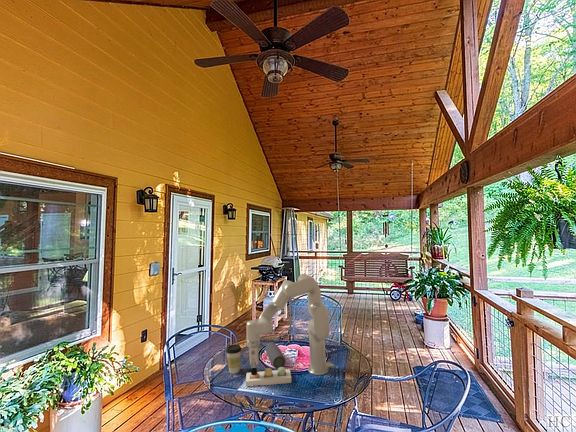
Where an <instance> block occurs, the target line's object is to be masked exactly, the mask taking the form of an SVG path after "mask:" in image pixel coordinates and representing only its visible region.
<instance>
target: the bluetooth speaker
mask: <svg viewBox="0 0 576 432" xmlns="http://www.w3.org/2000/svg"><path fill="white" fill-rule="evenodd" d="M265 352H266V356H267V358H268V360H269V362H270V363H271V365H272V367H273V368H274V369H276V370H278V368H279V367H286V363H287V361H286V358H285V356H284V353H283V352H282V351H281V348H280V347H279V345H277V343H275V342H268V344H267V345H266V346H265Z"/></svg>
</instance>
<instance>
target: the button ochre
mask: <svg viewBox="0 0 576 432" xmlns="http://www.w3.org/2000/svg"><path fill="white" fill-rule="evenodd" d="M263 371H264V372H265V377H270V376H272V371H273V370H272V368H270V367H267V368H265V369H264V370H263Z"/></svg>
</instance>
